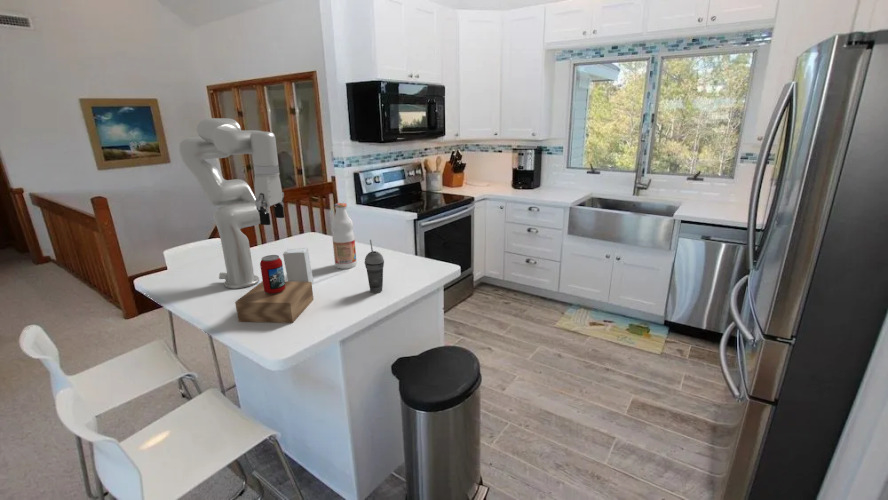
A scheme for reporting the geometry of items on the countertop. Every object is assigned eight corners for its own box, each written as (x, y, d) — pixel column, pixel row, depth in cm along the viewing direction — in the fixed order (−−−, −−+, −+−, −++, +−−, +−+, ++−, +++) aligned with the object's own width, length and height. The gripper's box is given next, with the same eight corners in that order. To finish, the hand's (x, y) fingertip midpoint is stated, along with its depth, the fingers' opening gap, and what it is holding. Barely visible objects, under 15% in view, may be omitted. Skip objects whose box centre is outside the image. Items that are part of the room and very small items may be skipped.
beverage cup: (377, 296, 151) (373, 243, 145) (362, 292, 155) (358, 241, 149) (389, 289, 157) (387, 239, 151) (375, 285, 161) (372, 236, 155)
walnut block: (238, 321, 133) (235, 301, 131) (265, 299, 150) (262, 281, 148) (292, 322, 131) (290, 302, 129) (313, 299, 149) (311, 281, 146)
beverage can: (278, 295, 135) (273, 261, 131) (260, 294, 136) (254, 260, 133) (289, 288, 141) (285, 254, 138) (272, 286, 142) (267, 253, 139)
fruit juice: (331, 265, 184) (325, 204, 176) (349, 260, 190) (344, 201, 182) (342, 270, 177) (336, 207, 169) (360, 265, 184) (356, 203, 175)
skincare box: (313, 282, 165) (309, 247, 160) (309, 288, 159) (305, 251, 154) (292, 283, 164) (287, 247, 160) (287, 289, 159) (282, 252, 154)
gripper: (269, 167, 144) (274, 214, 149) (241, 173, 127) (248, 227, 133) (289, 167, 143) (294, 215, 148) (264, 174, 127) (270, 228, 132)
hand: (273, 221), depth 141 cm, fingers open, 9 cm apart
